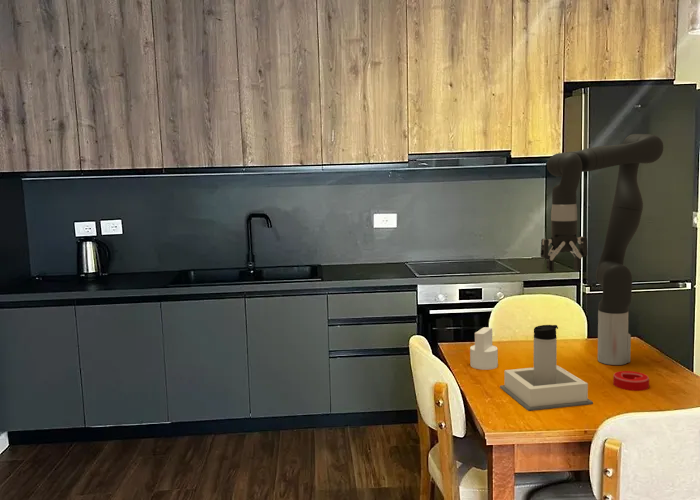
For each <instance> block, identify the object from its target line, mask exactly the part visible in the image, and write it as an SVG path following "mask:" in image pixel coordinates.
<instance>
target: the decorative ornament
mask: <svg viewBox="0 0 700 500" xmlns="http://www.w3.org/2000/svg"><path fill="white" fill-rule="evenodd" d="M612 383H613V385H614V387H616V388H618V389H621V390H625V391H632V392H636V391H637V392H638V391H640V392H641V391H645V390H648V389H649V387H650V377H649V376H648V375H647V374H645V373H643V372H638V371H633V370H621V371H616V372H614V373H613V379H612Z"/></svg>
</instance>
